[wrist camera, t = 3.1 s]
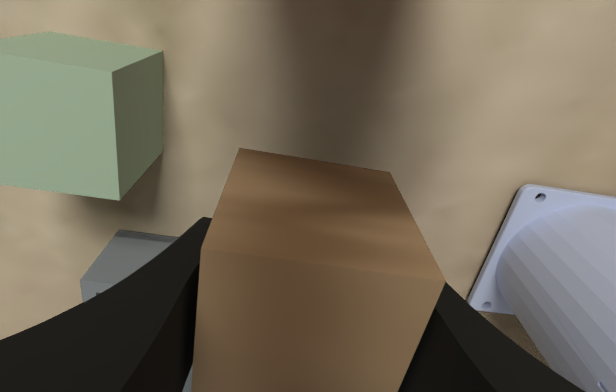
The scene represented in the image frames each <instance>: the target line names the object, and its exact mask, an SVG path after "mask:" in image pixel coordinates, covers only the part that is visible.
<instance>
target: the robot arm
mask: <svg viewBox="0 0 616 392" xmlns="http://www.w3.org/2000/svg"><path fill="white" fill-rule="evenodd" d="M539 193H541V196H540V197H539V198H537V199H535V197H536V196H537V195H538V194H539ZM211 221H212V218H207V217H202V218H201V219H199V220H198V221H197V222H196V223H195V224H194V225H193V226H192V227H190V228H189V229H188V230H187V231H186V232H185V233H184V234H183V235H181V236H180V237H179V238H178V239H177V240H176V241H174V242H173V243H172V244H171V245H169V246H168V247H167V248H166V249H164V250H163V251H162V252H161V253H159V254H158V255H157V256H156V257H154V258H153V259H152V260H150V261H149V262H147V263H146V264H145V265H143V266H142V267H140V268H139V269H138V270H136V271H135V272H133V273H132V274H130V275H129V276H128V277H126V278H124V279H123V280H121V281H120V282H118V283H117V284H115V285H113V286H112V287H110V288H109V289H107V290H105V291H103V292H102V293H100V294H98V295H97V296H95V297H93V298H91V299H89V300H87V301H85V302H83V303H81V304H79V305H77V306H75V307H73V308H71V309H69V310H67V311H65V312H63V313H61V314H59V315H57V316H55V317H53V318H51V319H49V320H47V321H45V322H42V323H40V324H38V325H36V326H33V327H31V328H29V329H26V330H24V331H22V332H19V333H17V334H15V335H12V336H10V337H7V338H5V339H2V340H0V392H183V389H184V386H185V383H186V380H187V378H188V375H189V372H190V370H191V367H192V364H193V355H194V341H195V327H196V312H197V298H198V284H199V270H200V255H201V247H202V244H203V242H204V239H205V236H206V234H207V231H208V229H209V226H210V223H211ZM467 302H468V303H467ZM467 302H466V301H465V300H464V299H463V298H462V297H461V296H460V295H459V294H458V293H457V292H456V291H455V290H454V289H452V288H451V287H450V286H449V285H448V284H447V283H446V282H445V284H444V287H443V289H442V291H441V293H440V296H439V298H438V300H437V303H436V305H435V307H434V309H433V312H432V314H431V316H430V319H429V321H428V323H427V326H426V328H425V330H424V332H423V335H422V337H421V339H420V342H419V344H418V346H417V348H416V351H415V353H414V355H413V358H412V360H411V362H410V365H409V367H408V369H407V371H406V374H405V376H404V378H403V381H402V383H401V385H400V387H399V390H398V392H616V197H613V196H606V195H599V194H593V193H586V192H580V191H573V190H567V189H560V188H554V187H547V186H541V185H534V184H527V185H524V186H522V187H521V188H520V189H519V190H518V192H517V194H516V196H515V198H514V201H513V203H512V205H511V207H510V209H509V211H508V214H507V216H506V218H505V220H504V222H503V224H502V226H501V229H500V231H499V233H498V235H497V237H496V239H495V241H494V244H493V246H492V248H491V250H490V252H489V254H488V257H487V259H486V261H485V263H484V265H483V267H482V269H481V272H480V274H479V276H478V278H477V280H476V282H475V284H474V287H473V289H472V291H471V293H470V295H469V297H468V300H467ZM485 302H487V303H485ZM483 303H485V304H483ZM476 310H478V311H486V312H495V313H503V314H511V315H516V317H517V318H518V320H519V321H520V323H521V324H522V326H523V327H524V329H525V331H526V332H527V334H528V335H529V337H530V338H531V340H532V341H533V343H534V344H535V346H536V347H537V349H538V350H539V352H540V353H541V355H542V356H543V358H544V359H545V361H546V362H547V364H548V365H549V367H550V368H551V369H550V368H549V367H547V366H546V365H544V364H543V363H541V362H540V361H539V360H537V359H536V358H534V357H533V356H532V355H530V354H529V353H528V352H526V351H525V350H524V349H522V348H521V347H520V346H518V345H517V344H516V343H515V342H513V341H512V340H511V339H509V338H508V337H507V336H505V335H504V334H503V333H502V332H500V331H499V330H498V329H497V328H496V327H494V326H493V325H492V324H491V323H490V322H489V321H487V320H486V319H485V318H484V317H483V316H482V315H481V314H479V313H478V312H477V311H476Z"/></svg>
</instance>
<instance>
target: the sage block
mask: <svg viewBox="0 0 616 392" xmlns="http://www.w3.org/2000/svg"><path fill="white" fill-rule="evenodd" d="M162 152H163V51H162V50H156V49H150V48H144V47H138V46H132V45H126V44H121V43H115V42H109V41H103V40H97V39H91V38H85V37H79V36H74V35H68V34H62V33H56V32H44V33H37V34H31V35H24V36H17V37H11V38H4V39H0V185H8V186H15V187H23V188H30V189H37V190H45V191H52V192H60V193H67V194H74V195H82V196H89V197H97V198H104V199H111V200H119V201H120V200H121V199H122V197H123V196H124V195H125V194H126V193H127V192H128V191H129V189H130V188H131V187H132V186H133V185H134V184H135V183H136V181H137V180H138V179H139V178H140V177H141V176H142V175H143V173H144V172H145V171H146V170H147V169H148V168H149V167H150V165H151V164H152V163H153V162H154V161H155V160H156V159H157V158H158V156H159V155H160V154H161V153H162Z"/></svg>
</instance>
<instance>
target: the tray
mask: <svg viewBox="0 0 616 392" xmlns="http://www.w3.org/2000/svg"><path fill="white" fill-rule="evenodd" d="M178 238H179V237H172V236H164V235H156V234H148V233H141V232H133V231H125V230H119V231H118V232H117V233H116V234H115V236H114V237H113V238H112V240H111V241H110V242H109V243H108V245H107V246H106V247H105V249H104V250H103V251H102V252H101V254H100V255H99V256H98V258H97V259H96V260H95V261H94V263H93V264H92V265H91V267H90V268H89V269H88V271H87V272H86V273H85V274H84V276H83V277H82V278H81V280H80V284H81V291H82V299H83V302H85V301H87V300H89V299H91V298H93V297H95V296H97V295H98V294H100V293H102V292H103V291H105V290H107V289H109V288H110V287H112V286H113V285H115V284H117V283H118V282H120V281H121V280H123V279H124V278H126V277H128V276H129V275H130V274H132V273H133V272H135V271H136V270H138V269H139V268H140V267H142V266H143V265H145V264H146V263H147V262H149V261H150V260H152V259H153V258H154V257H156V256H157V255H158V254H159V253H161V252H162V251H163V250H164V249H166V248H167V247H168V246H169V245H171V244H172V243H173V242H174V241H176V240H177V239H178ZM192 370H193V364H192V367H191V370H190V372H189V375H188V378H187V380H186V383H185V386H184V389H183V392H191V384H192Z"/></svg>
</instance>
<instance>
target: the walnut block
mask: <svg viewBox="0 0 616 392" xmlns="http://www.w3.org/2000/svg"><path fill="white" fill-rule="evenodd" d="M445 282H446V280H445V279H444V277H443V275H442V273H441V271H440V269H439V267H438V265H437V263H436V261H435V259H434V257H433V255H432V253H431V251H430V249H429V248H428V246H427V244H426V242H425V240H424V238H423V236H422V234H421V232H420V230H419V228H418V226H417V224H416V222H415V220H414V219H413V217H412V215H411V213H410V211H409V209H408V207H407V205H406V203H405V201H404V199H403V197H402V195H401V193H400V191H399V189H398V188H397V186H396V184H395V182H394V180H393V178H392V176H391V174H390V172H384V171H378V170H372V169H366V168H360V167H354V166H348V165H341V164H335V163H329V162H323V161H317V160H311V159H304V158H298V157H292V156H286V155H280V154H274V153H268V152H261V151H255V150H249V149H243V148H239V151H238V153H237V156H236V158H235V161H234V164H233V166H232V169H231V171H230V174H229V177H228V179H227V182H226V184H225V187H224V190H223V192H222V195H221V197H220V200H219V203H218V205H217V208H216V210H215V213H214V216H213V218H212V221H211V223H210V226H209V229H208V231H207V234H206V236H205V239H204V242H203V244H202V247H201V255H200V270H199V284H198V298H197V312H196V327H195V341H194V355H193V370H192V384H191V392H398V390H399V387H400V385H401V383H402V381H403V378H404V376H405V374H406V371H407V369H408V367H409V365H410V362H411V360H412V358H413V355H414V353H415V351H416V348H417V346H418V344H419V342H420V339H421V337H422V335H423V332H424V330H425V328H426V326H427V323H428V321H429V319H430V316H431V314H432V312H433V309H434V307H435V305H436V303H437V300H438V298H439V296H440V293H441V291H442V289H443V287H444V284H445Z"/></svg>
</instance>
